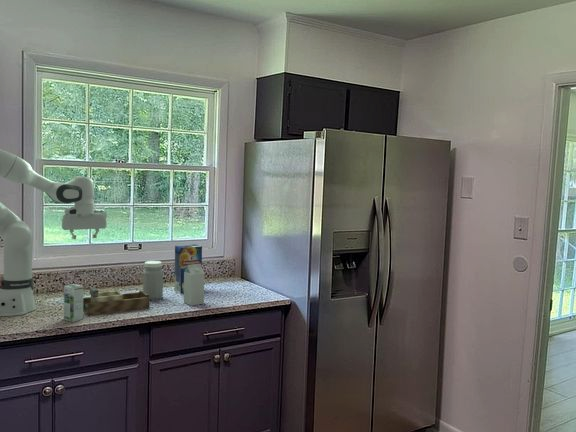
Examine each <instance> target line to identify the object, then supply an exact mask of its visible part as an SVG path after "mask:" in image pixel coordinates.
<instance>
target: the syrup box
mask: <svg viewBox="0 0 576 432" xmlns="http://www.w3.org/2000/svg"><path fill="white" fill-rule="evenodd" d="M83 298H84V285H80V284H77V283H71V284H66V285H64V286H63V320H65V321H68V322H71V323H74V322H77V321H81V320H83V319H84V311H83Z"/></svg>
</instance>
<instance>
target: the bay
mask: <svg viewBox="0 0 576 432" xmlns="http://www.w3.org/2000/svg"><path fill="white" fill-rule="evenodd" d="M122 294H123V300H116V301H107V302H97V303H91V296H89V297H83V313H85V314H86V315H87V316H89V317H90V316H96V315H97V316H98V315H103V314H111V313H119V312H128V311H138V310H144V309H145V308H146V309H149V308H150V300H149V295H148V294H147V293H145V292H144V291H143V289H142V290H139V291H136V292H135V291H134V292H126V293H122Z"/></svg>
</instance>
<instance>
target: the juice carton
mask: <svg viewBox="0 0 576 432" xmlns="http://www.w3.org/2000/svg"><path fill="white" fill-rule="evenodd" d="M202 262H203V245H198V244H184V245H183V244H182V245H175V246H174V292H176V293H178V294H180V295H182V294H183V295H184V272H185V270H186V269H187V268H188V265H193V264H201V267H202V268H203V264H202Z"/></svg>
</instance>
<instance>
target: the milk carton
mask: <svg viewBox="0 0 576 432" xmlns="http://www.w3.org/2000/svg"><path fill="white" fill-rule="evenodd" d="M183 303H184V304H186V305H189V306H197V305H202V304H204V303H205V271H204V269H203V266H202V267H201V264H193V265H188V268H187V269H186V270H185V272H184V294H183Z"/></svg>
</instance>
